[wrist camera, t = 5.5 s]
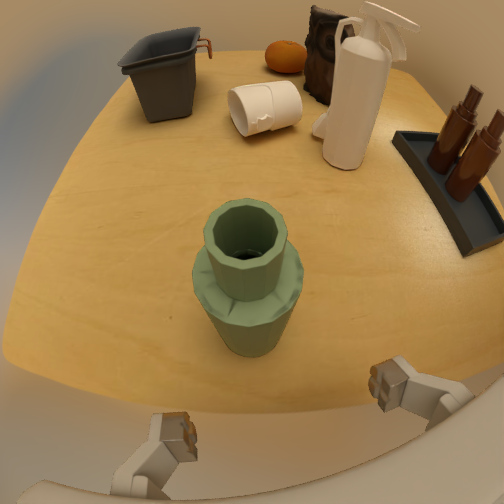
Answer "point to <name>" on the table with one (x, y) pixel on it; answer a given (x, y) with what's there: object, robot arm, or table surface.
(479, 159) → the bottle row
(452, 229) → the tray
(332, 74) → the brown rock chunk
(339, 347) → the table surface
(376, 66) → the fire extinguisher
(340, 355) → the table surface
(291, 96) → the mug
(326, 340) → the table surface
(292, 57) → the fruit
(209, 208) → the table surface
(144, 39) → the storage bin
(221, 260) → the green bottle
